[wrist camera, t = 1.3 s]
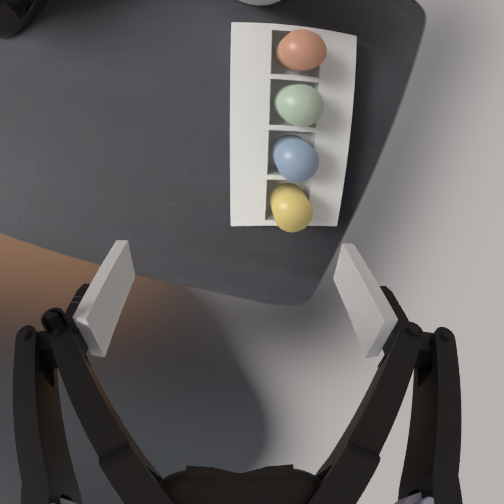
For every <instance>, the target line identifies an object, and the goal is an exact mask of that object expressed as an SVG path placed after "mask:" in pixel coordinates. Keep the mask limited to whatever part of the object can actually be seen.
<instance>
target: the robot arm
mask: <svg viewBox="0 0 504 504" xmlns="http://www.w3.org/2000/svg"><path fill="white" fill-rule="evenodd" d="M46 1H47V0H0V39H4V38H9V37H11V36H13V35H15V34H17V33H18V32H20V31H21V30H22V29H24V28H25V27H26V26H27V25H28V24H29V23H30V22H31V21H32V20H33V19H34V18H35V16H36V15H37V14H38V13H39V11H40V10H41V9H42V7H43V6H44V4H45V3H46ZM134 279H135V273H134V268H133V264H132V259H131V254H130V249H129V245H128V240H117V241H116V242H115V244H114V245H113V247H112V249H111V250H110V252H109V253H108V255H107V257H106V258H105V260H104V262H103V263H102V265H101V267H100V268H99V270H98V272H97V274H96V275H95V277H94V279H93V281H92V282H91V284H84V285H82V286H81V287H80V288H79V289H78V290H77V292H76V294H75V296H74V298H73V299H72V301H71V303H70V305H69V307H68V308H67V310H66V312H65V314H64V312H63V310H62V309H60V308H51V309H49V310H48V311H46V312H45V313H44V314H43V316H42V318H41V323H42V325H43V327H44V329H45V330H46V331H40V332H37V331H36V329H35V328H34V327H33V326H30V325H28V326H24V327H23V328H21V329H20V330H19V331H18V333H17V335H16V342H15V353H14V367H13V417H14V431H15V441H16V450H17V457H18V463H19V469H20V475H21V480H22V487H21V504H82V501H81V494H80V491H79V487H78V483H77V480H76V476H75V473H74V469H73V465H72V462H71V458H70V454H69V449H68V445H67V440H66V435H65V429H64V424H63V418H62V411H61V404H60V396H59V388H58V377H57V368H58V369H59V371H60V374H61V377H62V379H63V382H64V385H65V387H66V390H67V393H68V395H69V397H70V400H71V402H72V404H73V407H74V409H75V411H76V413H77V416H78V418H79V420H80V422H81V424H82V426H83V428H84V430H85V432H86V434H87V436H88V438H89V440H90V442H91V444H92V446H93V448H94V449H95V451H96V453H97V455H98V457H99V464H100V467H101V468H102V470H103V472H104V473H105V475H106V476H107V478H108V480H109V481H110V483H111V485H112V486H113V488H114V489H115V491H116V492H117V494H118V495H119V496H120V498H121V499H122V501H123V502H124V503H125V504H356V503H357V501H358V499H359V498H360V497H361V495H362V493H363V492H364V490H365V488H366V486H367V485H368V483H369V481H370V479H371V478H372V476H373V474H374V472H375V470H376V468H377V466H378V464H379V462H380V456H379V454H380V452H381V450H382V447H383V445H384V443H385V441H386V439H387V437H388V435H389V432H390V430H391V428H392V426H393V423H394V421H395V419H396V416H397V414H398V411H399V409H400V406H401V404H402V401H403V398H404V396H405V393H406V390H407V387H408V384H409V381H410V378H411V375H412V372H413V369H414V382H413V383H414V384H413V398H412V411H411V420H410V429H409V437H408V443H407V450H406V456H405V461H404V467H403V471H402V476H401V481H400V487H399V496H398V501H397V502H396V503H395V504H463V503H462V496H461V489H460V483H459V478H458V473H459V462H460V448H461V391H460V376H459V365H458V357H457V348H456V341H455V336H454V334H453V333H452V332H451V331H450V330H449V329H447V328H445V327H439V328H437V329H436V331H435V332H434V333H429V332H423V331H422V329H421V328H420V327H419V326H418V325H417V324H415V323H413V322H409V321H408V318H407V317H406V315H405V313H404V311H403V310H402V308H401V306H400V305H399V303H398V301H397V300H396V298H395V296H394V295H393V293H392V291H390V290H389V289H388V288H387V287H386V286H379V285H378V283H377V282H376V280H375V278H374V276H373V275H372V273H371V272H370V270H369V268H368V266H367V265H366V263H365V262H364V260H363V258H362V257H361V255H360V254H359V252H358V250H357V249H356V247H355V246H354V244H348V243H342V246H341V250H340V254H339V258H338V262H337V266H336V270H335V274H334V278H333V279H334V281H335V284H336V286H337V288H338V291H339V293H340V295H341V298H342V300H343V302H344V305H345V307H346V310H347V312H348V314H349V317H350V319H351V322H352V324H353V327H354V329H355V332H356V335H357V337H358V340H359V342H360V345H361V347H362V350H363V352H364V355H365V358H368V357H374V356H378V355H379V353H380V352H381V350H382V349H383V351H384V354H385V355H384V357H383V359H382V360H381V362H380V363H379V365H378V370H377V372H376V374H375V376H374V378H373V380H372V382H371V384H370V386H369V388H368V390H367V392H366V394H365V396H364V398H363V400H362V402H361V404H360V406H359V407H358V409H357V411H356V413H355V415H354V417H353V419H352V420H351V423H350V424H349V425H348V427H347V429H346V431H345V432H344V434H343V436H342V437H341V439H340V440H339V442H338V444H337V445H336V447H335V449H334V450H333V452H332V453H331V455H330V456H329V458H328V459H327V461H326V462H325V463H324V464H323V465H322V467H321V468H320V469H319V470H318V472H317V474H316V475H312V474H311V473H309V472H306V471H303V470H299V469H293V465H292V464H291V465H281V466H268V467H264V468H261V469H257V470H253V471H249V472H245V473H234V472H230V471H225V470H221V469H217V468H214V467H197V466H187V467H186V470H183V471H179V472H176V473H173V474H170V475H169V476H167V477H165V478H163V477H162V476H161V475H160V473H159V472H158V471H157V470H156V469H155V468H154V466H153V465H152V464H151V463H150V462H149V460H148V459H147V458H146V456H145V455H144V453H143V452H142V451H141V449H140V448H139V446H138V445H137V444H136V442H135V441H134V439H133V438H132V436H131V435H130V433H129V432H128V430H127V428H126V427H125V425H124V424H123V422H122V420H121V419H120V417H119V415H118V414H117V412H116V410H115V409H114V407H113V406H112V404H111V402H110V400H109V398H108V396H107V395H106V393H105V391H104V389H103V387H102V385H101V383H100V381H99V379H98V378H97V376H96V374H95V371H94V370H93V368H92V365H91V363H90V361H89V359H88V357H87V355H86V353H87V350H88V349H89V350H90V352H91V354H92V355H95V356H101V357H105V355H106V352H107V349H108V346H109V343H110V341H111V338H112V335H113V332H114V329H115V327H116V324H117V321H118V319H119V316H120V313H121V311H122V308H123V305H124V303H125V300H126V298H127V296H128V293H129V291H130V288H131V286H132V283H133V281H134Z"/></svg>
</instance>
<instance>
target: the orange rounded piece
mask: <svg viewBox="0 0 504 504" xmlns="http://www.w3.org/2000/svg"><path fill="white" fill-rule="evenodd" d="M275 54H276V58H277V60H278V62H279V64H280V65H281V66H282V67H284V68H285V69H287V70H290V71H295V72H298V71H304V70H309V69H313V68H316V67H318V66H319V65H321V64H322V63H323V61H324V60H325V58H326V54H327V48H326V45H325V42H324V41H323V39H322V38H321V37H320V36H319V35H318V34H316V33H315V32H313V31H310V30H306V29H298V30H294V31H292V32H290V33H289V34H287V35H286V36H285V37H284V38H283V39H282V40H281V41H280V42H279V43H278V45H277V47H276V51H275Z"/></svg>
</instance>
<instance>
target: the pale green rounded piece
mask: <svg viewBox="0 0 504 504" xmlns="http://www.w3.org/2000/svg"><path fill="white" fill-rule="evenodd" d="M274 107H275V110H276V112H277V113H278V114H279V116H281V117H282V118H283V119H285V120H286V121H288V122H289V123H291V124H293V125H295V126H300V127H305V126H310V125H312V124H314V123H316V122H317V121H318V120H319V119H320V117H321V116H322V113H323V110H324V102H323V99H322V97H321V95H320V93H319V92H318V91H317V90H316V89H314V88H313V87H311V86H308V85H304V84H295V85H287V86H284V87H282V88H281V89H280V90H279V91H278V92H277V93H276V95H275V98H274Z"/></svg>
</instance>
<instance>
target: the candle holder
mask: <svg viewBox="0 0 504 504" xmlns="http://www.w3.org/2000/svg"><path fill="white" fill-rule="evenodd" d="M239 1H241V2H243V3H246V4H250V5H258V6H263V5H270V4H274V3H277V2H279V1H281V0H239Z"/></svg>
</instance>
